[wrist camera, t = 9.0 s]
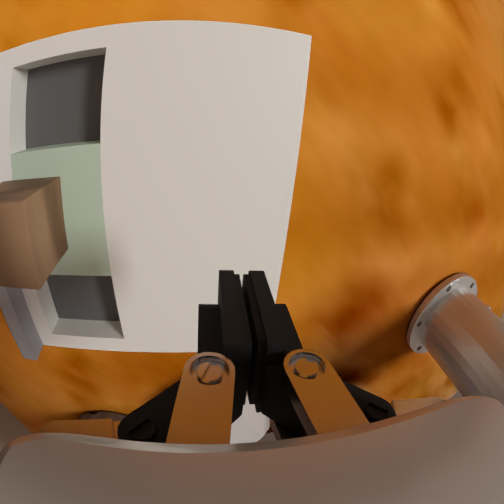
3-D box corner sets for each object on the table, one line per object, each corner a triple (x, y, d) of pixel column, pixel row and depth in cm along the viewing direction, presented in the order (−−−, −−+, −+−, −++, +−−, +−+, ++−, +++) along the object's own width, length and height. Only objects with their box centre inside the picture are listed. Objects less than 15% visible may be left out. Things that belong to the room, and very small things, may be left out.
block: (60, 176, 15) (21, 201, 10) (68, 248, 17) (39, 289, 13) (3, 181, 14) (-39, 206, 9) (14, 247, 16) (-19, 284, 12)
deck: (298, 43, 16) (325, 29, 12) (261, 329, 27) (272, 365, 23) (3, 60, 11) (-31, 57, 7) (39, 326, 22) (24, 358, 18)
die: (267, 355, 30) (227, 407, 21) (291, 417, 30) (262, 475, 21) (205, 365, 33) (157, 407, 24) (232, 421, 33) (194, 469, 24)
